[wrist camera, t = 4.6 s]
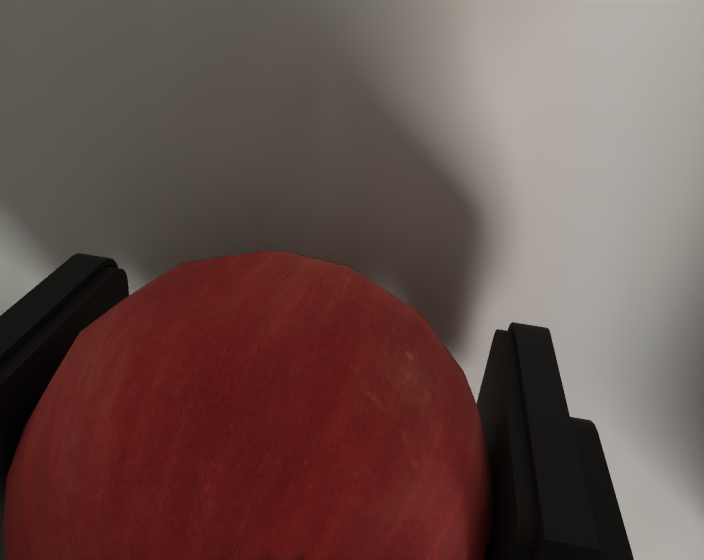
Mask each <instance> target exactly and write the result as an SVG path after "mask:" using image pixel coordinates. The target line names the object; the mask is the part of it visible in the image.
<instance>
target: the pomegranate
mask: <svg viewBox="0 0 704 560" xmlns="http://www.w3.org/2000/svg"><path fill="white" fill-rule="evenodd" d="M492 530H493V499H492V473H491V467H490V462H489V457H488V453H487V448H486V443H485V438H484V434H483V429H482V424H481V420H480V415H479V410H478V407H477V405H476V402H475V399H474V397H473V394H472V392H471V389H470V387H469V384H468V381H467V379H466V376H465V374H464V371H463V370H462V369H461V367H460V366H459V365H458V363H457V362H456V360H455V359H454V358H453V356H452V355H451V354H450V352H449V351H448V350H447V348H446V347H445V345H444V344H443V343H442V341H441V340H440V339H439V337H438V336H437V335H436V333H435V332H434V331H433V329H432V328H431V326H430V325H429V324H428V322H427V321H426V320H425V318H424V317H423V316H422V314H420V313H419V312H418V311H416V310H415V309H413V308H412V307H410V306H409V305H407V304H406V303H404V302H403V301H401V300H400V299H398V298H397V297H395V296H393V295H392V294H390V293H389V292H387V291H386V290H384V289H383V288H381V287H380V286H378V285H376V284H375V283H373V282H372V281H370V280H369V279H367V278H366V277H364V276H363V275H361V274H359V273H358V272H356V271H355V270H353V269H352V268H350V267H347V266H343V265H339V264H335V263H331V262H326V261H322V260H318V259H314V258H310V257H306V256H301V255H297V254H293V253H289V252H285V251H258V252H252V253H246V254H239V255H233V256H226V257H220V258H214V259H207V260H201V261H194V262H188V263H181V264H178V265H177V266H175V267H174V268H172V269H170V270H169V271H167V272H166V273H164V274H163V275H161V276H159V277H158V278H156V279H155V280H153V281H152V282H150V283H148V284H147V285H145V286H144V287H142V288H141V289H139V290H137V291H136V292H134V293H133V294H131V295H129V296H128V297H126V298H125V299H123V300H122V301H120V302H119V303H118V304H116V305H115V306H114V307H113V308H111V309H110V310H109V311H107V312H106V313H105V314H103V315H102V316H101V317H99V318H98V319H97V320H95V321H94V322H93V323H91V324H90V325H89V326H87V327H86V328H85V329H83V330H82V331H81V332H80V333H79V334H78V336H77V338H76V339H75V341H74V343H73V344H72V346H71V348H70V349H69V351H68V353H67V354H66V356H65V358H64V359H63V361H62V363H61V364H60V366H59V368H58V369H57V371H56V373H55V374H54V376H53V378H52V379H51V381H50V383H49V385H48V386H47V388H46V390H45V392H44V393H43V395H42V397H41V399H40V400H39V402H38V404H37V406H36V407H35V409H34V411H33V413H32V415H31V416H30V418H29V420H28V422H27V423H26V425H25V427H24V429H23V431H22V434H21V437H20V440H19V443H18V446H17V449H16V452H15V454H14V457H13V460H12V463H11V466H10V469H9V472H8V475H7V479H6V493H5V506H4V520H3V532H4V549H5V560H484V558H485V555H486V551H487V548H488V544H489V540H490V537H491V533H492Z"/></svg>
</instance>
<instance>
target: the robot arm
mask: <svg viewBox="0 0 704 560" xmlns="http://www.w3.org/2000/svg"><path fill="white" fill-rule="evenodd" d="M128 296H129V291H128V280H127V275H126V272H125V271H124V270H123V269H119V268H118V266H117V264H116V262H115V261H114V260H113V259H111V258H105V257H99V256H92V255H86V254H75V255H73V256H72V257H71V258H69V259H68V260H67V261H66V262H65V263H63V264H62V265H61V266H60V267H59V268H57V269H56V270H55V271H54V272H53V273H51V274H50V275H49V276H48V277H47V278H45V279H44V280H43V281H42V282H41V283H39V284H38V285H37V286H36V287H35V288H33V289H32V290H31V291H30V292H29V293H27V294H26V295H25V296H24V297H23V298H21V299H20V300H19V301H18V302H17V303H15V304H14V305H13V306H12V307H11V308H9V309H8V310H7V311H6V312H4V313H3V314H2V315H1V316H0V560H5V549H4V532H3V520H4V506H5V493H6V479H7V475H8V472H9V469H10V466H11V463H12V460H13V457H14V454H15V452H16V449H17V446H18V443H19V440H20V437H21V434H22V431H23V429H24V427H25V425H26V423H27V422H28V420H29V418H30V416H31V415H32V413H33V411H34V409H35V407H36V406H37V404H38V402H39V400H40V399H41V397H42V395H43V393H44V392H45V390H46V388H47V386H48V385H49V383H50V381H51V379H52V378H53V376H54V374H55V373H56V371H57V369H58V368H59V366H60V364H61V363H62V361H63V359H64V358H65V356H66V354H67V353H68V351H69V349H70V348H71V346H72V344H73V343H74V341H75V339H76V338H77V336H78V334H79V333H80V332H81V331H82V330H83V329H85V328H86V327H87V326H89V325H90V324H91V323H93V322H94V321H95V320H97V319H98V318H99V317H101V316H102V315H103V314H105V313H106V312H107V311H109V310H110V309H111V308H113V307H114V306H115V305H116V304H118V303H119V302H120V301H122V300H123V299H125V298H126V297H128ZM476 405H477V407H478V410H479V415H480V420H481V424H482V429H483V434H484V438H485V443H486V448H487V453H488V457H489V462H490V467H491V473H492V499H493V530H492V533H491V537H490V540H489V544H488V548H487V551H486V555H485V558H484V560H634V559H633V555H632V551H631V548H630V544H629V541H628V537H627V534H626V530H625V527H624V523H623V520H622V516H621V513H620V509H619V505H618V502H617V498H616V495H615V491H614V488H613V484H612V481H611V477H610V474H609V470H608V467H607V463H606V459H605V456H604V452H603V449H602V445H601V442H600V438H599V435H598V431H597V429H596V427H595V424H594V423H593V422H592V421H590V420H585V419H579V418H573V417H570V416H569V411H568V407H567V403H566V399H565V394H564V390H563V386H562V381H561V377H560V373H559V369H558V364H557V360H556V356H555V351H554V347H553V343H552V339H551V334H550V331H549V329H548V328H544V327H538V326H532V325H526V324H519V323H513V322H512V323H511V324H510V326H509V328H508V331H505V330H499V329H497V330H496V332H495V334H494V338H493V341H492V345H491V349H490V353H489V357H488V361H487V365H486V369H485V373H484V377H483V381H482V385H481V389H480V393H479V397H478V400H477V404H476Z"/></svg>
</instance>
